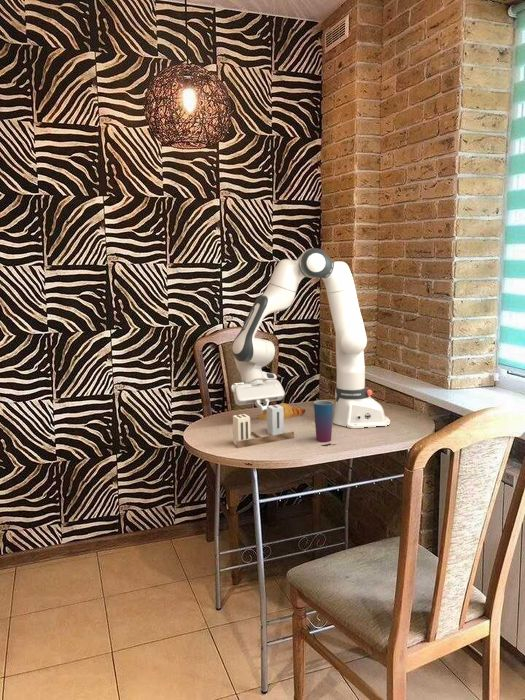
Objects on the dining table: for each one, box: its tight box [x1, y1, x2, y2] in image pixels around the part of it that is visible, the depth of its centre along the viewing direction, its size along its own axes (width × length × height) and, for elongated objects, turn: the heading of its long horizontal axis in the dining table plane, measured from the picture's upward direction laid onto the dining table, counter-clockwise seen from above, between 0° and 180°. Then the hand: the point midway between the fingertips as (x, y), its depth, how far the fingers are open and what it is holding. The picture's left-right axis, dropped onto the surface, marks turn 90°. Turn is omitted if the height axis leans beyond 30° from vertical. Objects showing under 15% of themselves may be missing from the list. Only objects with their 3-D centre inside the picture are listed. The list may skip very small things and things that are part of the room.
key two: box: [232, 413, 252, 446], centre depth 193 cm, size 4×5×10 cm
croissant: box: [256, 402, 306, 420], centre depth 229 cm, size 21×10×8 cm, turn 112°
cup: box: [313, 399, 334, 447], centre depth 196 cm, size 7×7×15 cm
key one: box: [266, 404, 285, 436], centre depth 205 cm, size 4×5×10 cm
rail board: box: [236, 431, 295, 449], centre depth 200 cm, size 22×12×4 cm, turn 117°
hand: (265, 411), depth 211 cm, fingers closed
